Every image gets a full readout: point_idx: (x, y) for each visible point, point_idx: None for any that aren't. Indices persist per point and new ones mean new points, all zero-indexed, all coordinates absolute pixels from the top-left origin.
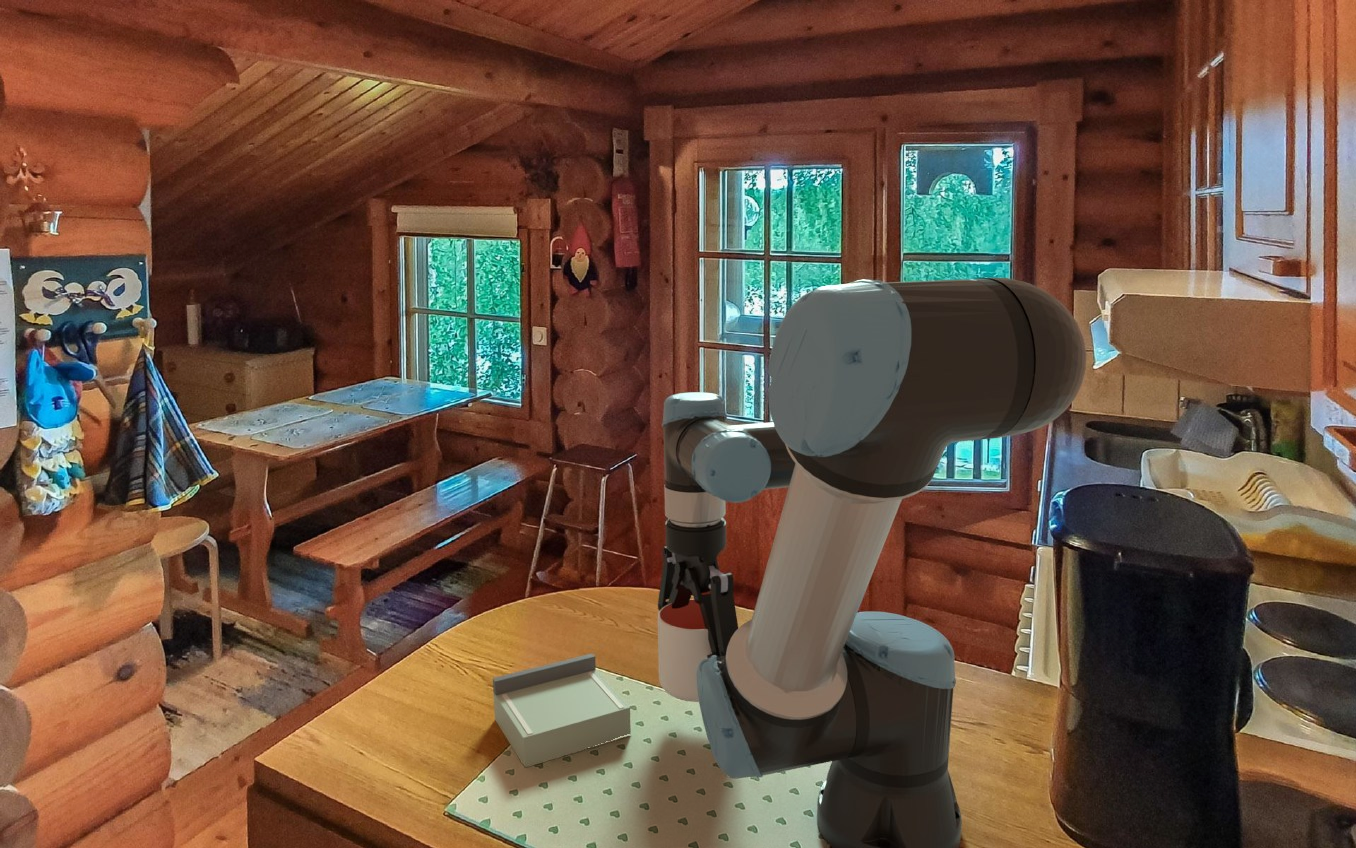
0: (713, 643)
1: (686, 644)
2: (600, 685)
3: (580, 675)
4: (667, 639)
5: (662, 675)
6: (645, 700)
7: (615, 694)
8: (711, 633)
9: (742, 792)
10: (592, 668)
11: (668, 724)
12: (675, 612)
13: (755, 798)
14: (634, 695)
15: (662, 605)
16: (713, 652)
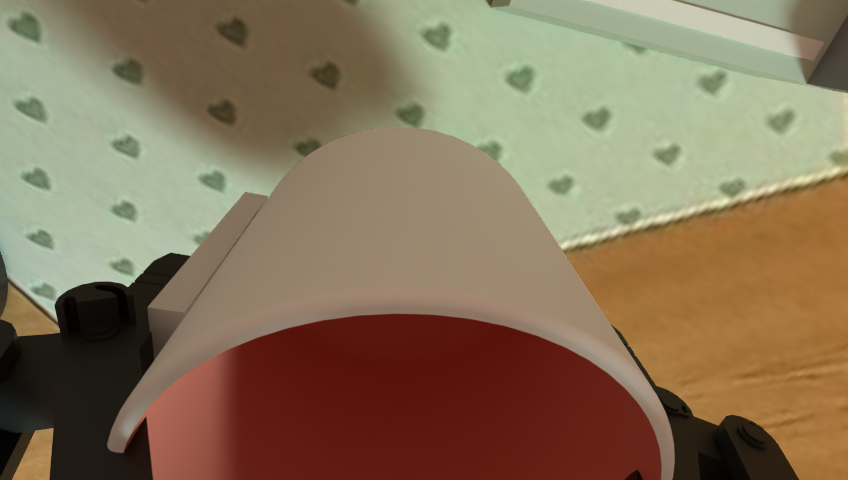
0: (63, 377)
1: (232, 271)
2: (714, 17)
3: (840, 5)
4: (388, 228)
5: (441, 144)
6: (594, 168)
7: (620, 24)
8: (56, 436)
9: (80, 75)
10: (822, 71)
11: (458, 138)
12: (615, 454)
13: (42, 84)
14: (637, 162)
15: (739, 456)
16: (90, 330)
